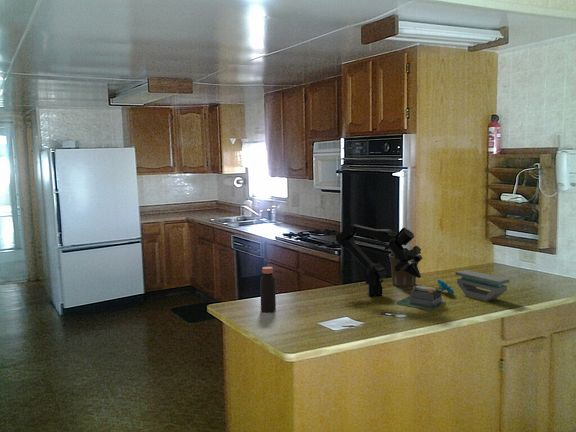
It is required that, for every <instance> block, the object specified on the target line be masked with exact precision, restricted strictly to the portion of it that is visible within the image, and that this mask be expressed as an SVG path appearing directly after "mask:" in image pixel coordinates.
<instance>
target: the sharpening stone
mask: <svg viewBox="0 0 576 432" xmlns="http://www.w3.org/2000/svg"><path fill="white" fill-rule="evenodd" d="M455 276H459V278H456V279H457V280H456V284H457V285H458V287H459V288H460V289H461V291H462V293H464V294H463V295H465V297H469V298H472V299H475V300H479V301H483V302H488V301H492V300H496V299H498V298H499V297H500V296H502V295H503V294H505V292H507V291H508V285H505V284H508V283H510V278H505V277H500V276H496V275H492V274H487V273H482V272H477V271H473V270H468V269H464V270H459V271H455Z"/></svg>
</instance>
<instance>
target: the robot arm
mask: <svg viewBox="0 0 576 432" xmlns="http://www.w3.org/2000/svg"><path fill="white" fill-rule="evenodd" d="M356 234H358V235H361V236H362V235H363V236H366V237H371V238H373V239H375V240H377V241H379V242H381V243H384V251H389V250H390V251H391V253H393V254H394V255H395V257H394V258H395V259H398V260H399V261H400V262H399V263H398V264H397V265H395V266H394V269H395V271H396V272H399V271H400V269H401V268H402V267H404V268H405V269H404V270H403V271H405V272H408V273H410V274H412V275H414V276H416V278H418V279H420V278H421V277H422V275H421V273H420V270H419V267H418V265H417V263H418V264H419V263H420V261H422V260H423V259H424V258H423V256H422V255H421V254H422V248H421V247H420V246H419V245H414V246H413V247H412V248H411V249H408V248H405V247H404V246H407V245H408V244H409V243H410V242H411V241H412V240H413V239H414V238H415V235H414V233H413V232H412V231H410V230H409V229H407V227H402V228H401V229H400V230H399V231H398V233H397V232H394V231H393V230H392V229H389V228H386V229H385V228H383V229H377V228H372V227H367V226H364V225H359V224H352V225H350V226H348V227H347V228H346V229H344V230H343V231H341V232H338V233H336V236H335V242H336V243H337V244H338V245H340V246H341V247H343V248H345V249H347V250H348V251H349V253H351V254H352V256H353V257H354V258H355V259H356V260H357V262H358V263H360V264H361V266H362V267H363V268H364V269H365V270H366V274H367V276H368V277H366V278H365V280H364V281H365V284H366V285H367V292H366V294H367V296H368V297H370V298H373V297H376V298H378V297H383V286H382V283H384V280H385V278H386V276H387V271H386V270H385V269H386V268H385V267H383V265H382V264H381V263H380V262H378V263H374V262H373V261H372V260H371V259H370V257H368V255H367V254H365V252H364V251H363V250H362V249H361V248H360V246H358V245H357V244H356V242H355V238H354V237H356ZM388 242H389V243H388ZM385 243H386V244H385ZM414 255H416V256H414Z"/></svg>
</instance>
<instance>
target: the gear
mask: <svg viewBox="0 0 576 432" xmlns="http://www.w3.org/2000/svg"><path fill="white" fill-rule="evenodd" d="M436 281H437V284H438V285H437V287H438V290H441V294H443V292H444V291H447V292H448V293H450V294H451V295H452V294H455V290H454V289H453V288H452V287H451V286H449V284H447V283H446V282H444V280H441V279H437V280H436Z"/></svg>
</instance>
